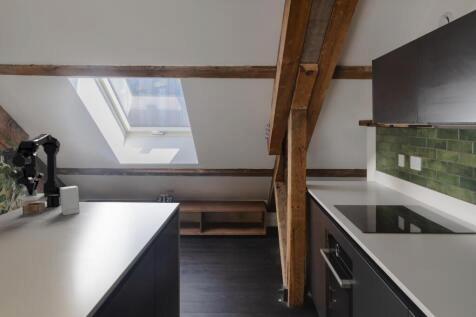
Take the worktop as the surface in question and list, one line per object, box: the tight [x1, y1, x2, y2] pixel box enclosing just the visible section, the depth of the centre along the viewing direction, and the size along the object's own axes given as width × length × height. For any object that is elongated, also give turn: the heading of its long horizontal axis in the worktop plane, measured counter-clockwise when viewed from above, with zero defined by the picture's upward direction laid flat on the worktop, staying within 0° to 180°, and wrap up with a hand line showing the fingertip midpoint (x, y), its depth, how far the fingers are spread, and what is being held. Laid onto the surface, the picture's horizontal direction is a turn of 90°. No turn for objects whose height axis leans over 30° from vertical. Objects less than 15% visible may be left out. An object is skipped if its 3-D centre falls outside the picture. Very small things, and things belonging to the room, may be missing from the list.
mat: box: [18, 210, 54, 221], centre depth 171 cm, size 11×16×1 cm
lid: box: [18, 189, 45, 202], centre depth 166 cm, size 9×9×4 cm
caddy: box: [22, 201, 46, 216], centre depth 175 cm, size 8×8×5 cm
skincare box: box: [60, 185, 81, 216], centre depth 176 cm, size 8×6×15 cm
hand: (31, 194), depth 166 cm, fingers closed on lid, 2 cm apart
